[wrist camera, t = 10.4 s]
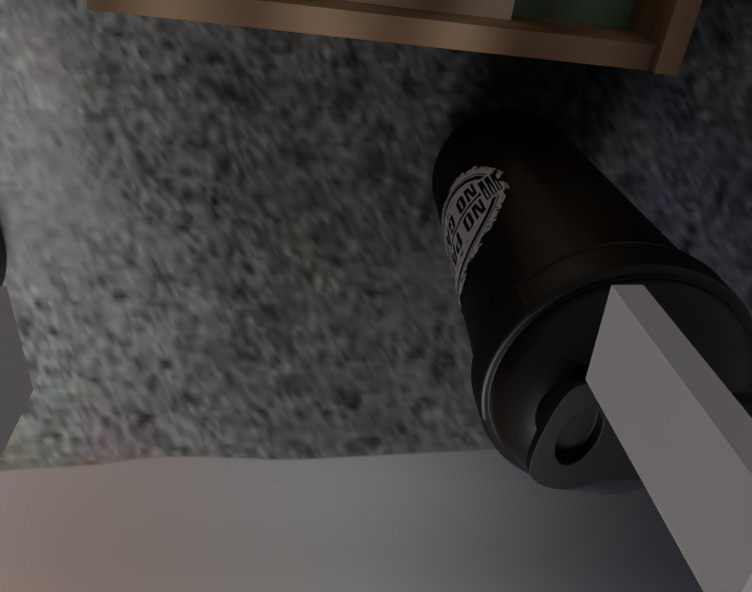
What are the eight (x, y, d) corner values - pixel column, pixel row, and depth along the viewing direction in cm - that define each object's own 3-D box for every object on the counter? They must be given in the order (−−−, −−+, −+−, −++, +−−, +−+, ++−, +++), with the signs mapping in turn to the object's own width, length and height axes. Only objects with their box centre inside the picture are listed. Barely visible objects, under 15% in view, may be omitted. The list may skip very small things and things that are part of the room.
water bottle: (447, 74, 39) (571, 294, 19) (614, 117, 40) (882, 356, 21) (398, 235, 44) (456, 537, 24) (548, 266, 46) (715, 570, 26)
